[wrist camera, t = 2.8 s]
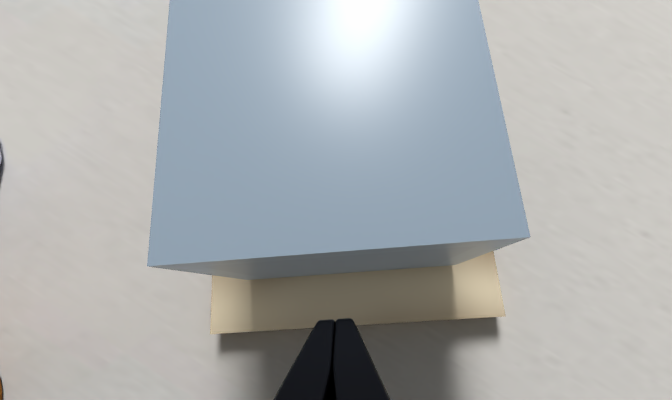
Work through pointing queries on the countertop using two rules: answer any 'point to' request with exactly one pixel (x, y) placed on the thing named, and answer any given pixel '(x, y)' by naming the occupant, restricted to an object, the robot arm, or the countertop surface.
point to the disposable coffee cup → (0, 390)
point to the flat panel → (358, 297)
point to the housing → (329, 139)
